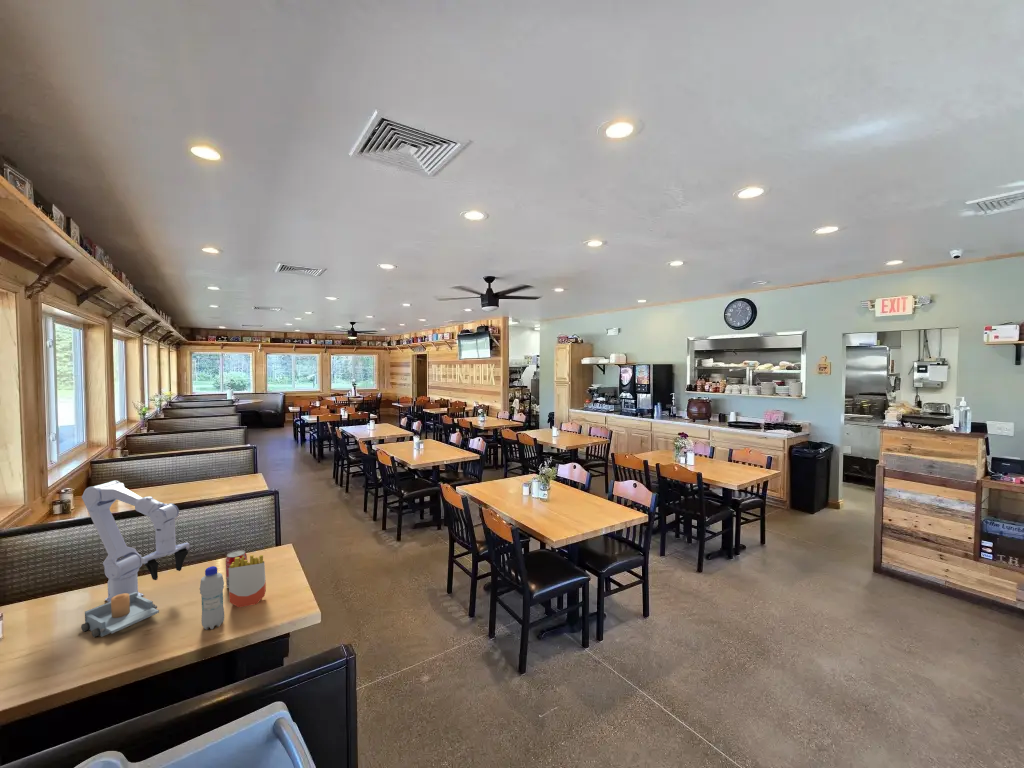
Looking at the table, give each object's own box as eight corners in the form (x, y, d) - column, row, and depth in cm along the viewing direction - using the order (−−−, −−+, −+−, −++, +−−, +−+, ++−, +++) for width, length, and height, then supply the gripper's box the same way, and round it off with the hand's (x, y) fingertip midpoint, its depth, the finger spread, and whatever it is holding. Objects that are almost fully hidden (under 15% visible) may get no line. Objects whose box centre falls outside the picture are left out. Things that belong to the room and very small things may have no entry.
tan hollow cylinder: (108, 616, 146) (107, 596, 146) (125, 608, 150) (124, 589, 150) (116, 619, 144) (115, 599, 144) (132, 612, 149) (132, 592, 148)
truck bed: (80, 629, 143) (79, 613, 142) (140, 604, 158) (140, 589, 157) (99, 640, 137) (98, 623, 137) (159, 613, 152) (159, 597, 152)
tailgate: (105, 627, 139) (111, 631, 137) (152, 607, 151) (158, 610, 149) (105, 630, 139) (111, 634, 138) (152, 610, 151) (158, 613, 149)
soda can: (237, 591, 167) (236, 558, 167) (221, 589, 169) (220, 556, 168) (252, 582, 174) (251, 550, 174) (236, 580, 176) (235, 548, 175)
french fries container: (232, 602, 159) (230, 554, 158) (266, 596, 163) (264, 549, 163) (229, 609, 155) (228, 559, 154) (264, 602, 159) (263, 554, 158)
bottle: (199, 633, 141) (197, 573, 140) (202, 623, 147) (200, 565, 146) (224, 628, 144) (222, 569, 143) (226, 617, 150) (224, 560, 149)
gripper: (148, 547, 151) (149, 586, 152) (193, 533, 164) (194, 568, 165) (137, 544, 154) (138, 581, 155) (182, 530, 167) (184, 564, 168)
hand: (167, 574), depth 160 cm, fingers open, 7 cm apart
